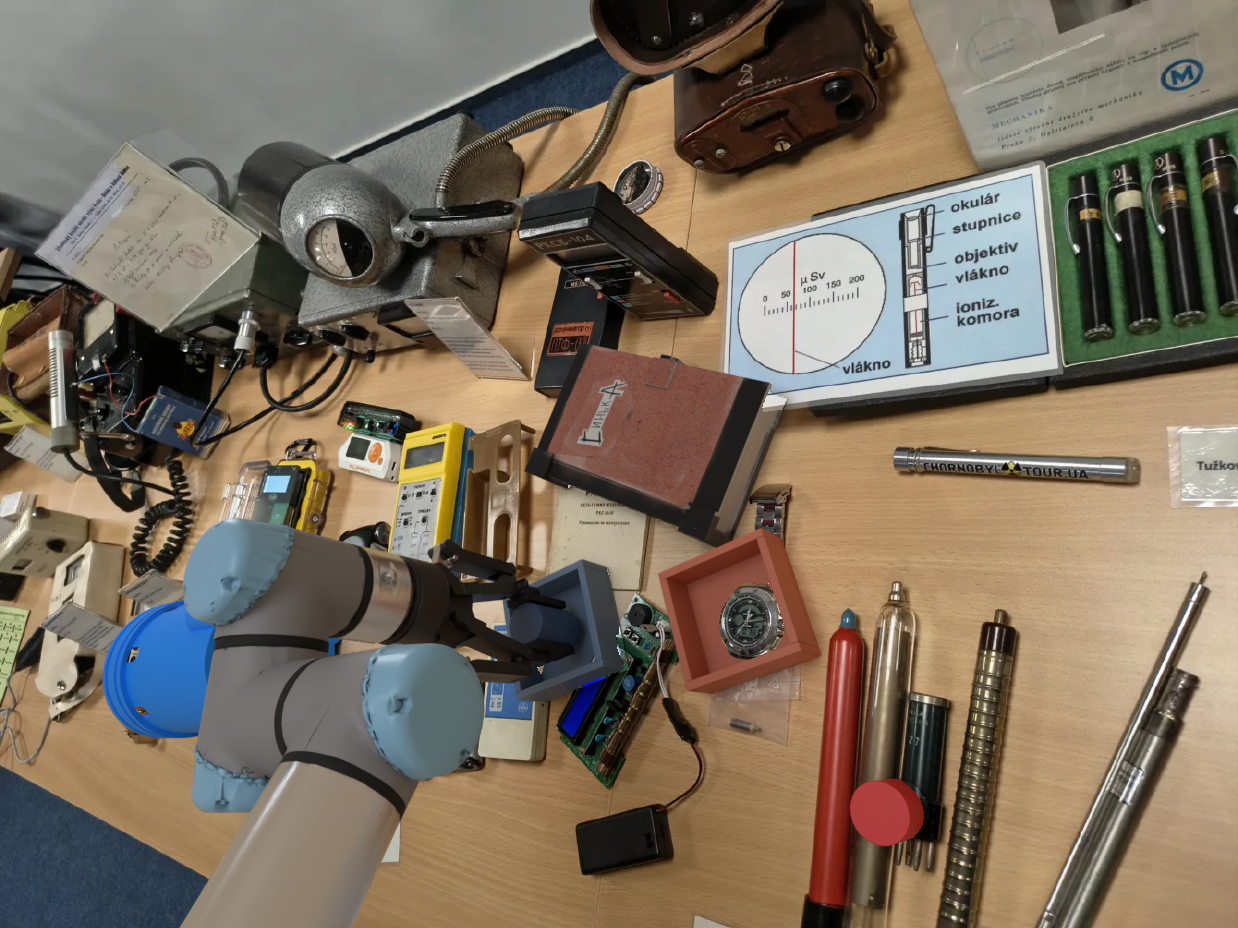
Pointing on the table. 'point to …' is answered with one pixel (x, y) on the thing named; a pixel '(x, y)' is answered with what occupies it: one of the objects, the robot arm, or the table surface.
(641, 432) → the book
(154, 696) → the blue pipe coupling
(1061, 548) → the table surface
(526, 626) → the blue canister
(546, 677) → the blue bin
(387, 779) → the robot arm
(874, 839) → the red canister
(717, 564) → the red bin
